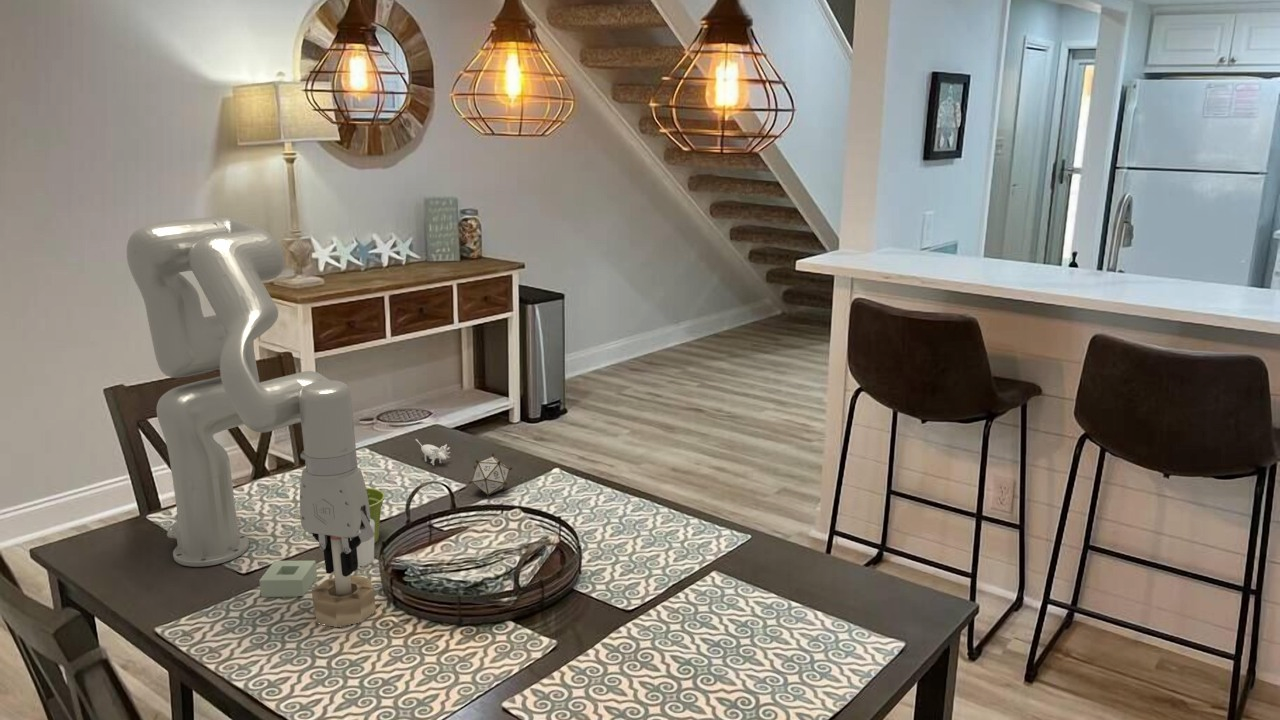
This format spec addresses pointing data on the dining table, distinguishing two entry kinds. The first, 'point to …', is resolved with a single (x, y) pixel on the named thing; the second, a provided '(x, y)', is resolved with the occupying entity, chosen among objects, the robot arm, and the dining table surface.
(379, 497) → the plant pot
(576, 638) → the dining table surface
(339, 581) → the red-capped white cylinder
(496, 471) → the game die
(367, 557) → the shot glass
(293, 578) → the green square-hole block
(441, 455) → the white triceratops figurine
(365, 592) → the bead
